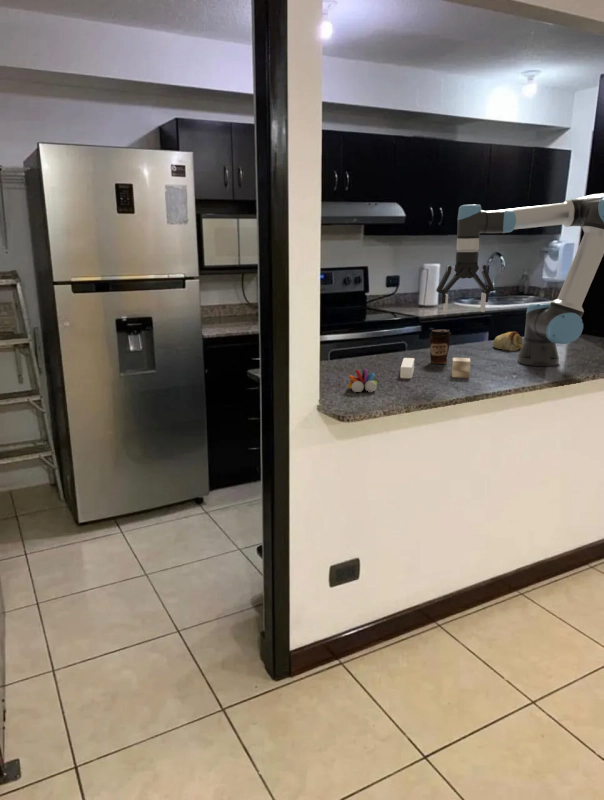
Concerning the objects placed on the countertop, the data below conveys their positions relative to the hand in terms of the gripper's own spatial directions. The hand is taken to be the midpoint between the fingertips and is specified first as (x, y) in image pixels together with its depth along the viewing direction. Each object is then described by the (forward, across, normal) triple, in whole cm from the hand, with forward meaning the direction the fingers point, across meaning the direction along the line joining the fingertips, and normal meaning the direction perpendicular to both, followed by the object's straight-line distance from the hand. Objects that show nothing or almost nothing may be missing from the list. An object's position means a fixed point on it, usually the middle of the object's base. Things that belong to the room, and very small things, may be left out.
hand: (463, 312), depth 213 cm
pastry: (+23, -35, -44) cm, 60 cm away
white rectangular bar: (+22, +20, -1) cm, 30 cm away
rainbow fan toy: (+22, +40, +21) cm, 50 cm away
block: (+22, +1, +4) cm, 23 cm away
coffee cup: (+22, +3, -17) cm, 28 cm away
